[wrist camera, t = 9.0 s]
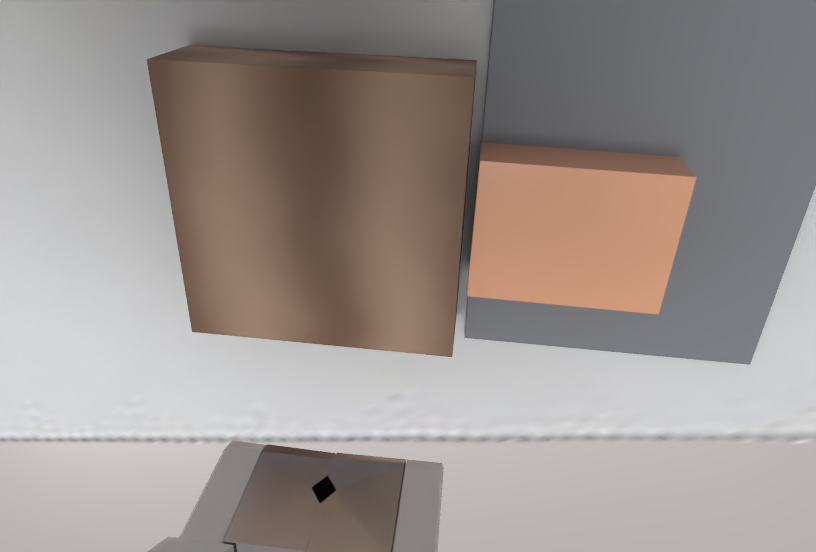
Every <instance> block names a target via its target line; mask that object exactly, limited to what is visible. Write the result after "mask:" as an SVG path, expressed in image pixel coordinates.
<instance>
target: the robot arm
mask: <svg viewBox="0 0 816 552" xmlns="http://www.w3.org/2000/svg"><path fill="white" fill-rule="evenodd" d="M442 483H443V464H442V463H434V462H425V461H415V460H407V462H406V460H405V459H394V458H383V457H374V456H364V455H353V454H342V453H337V454H335V453H328V452H321V451H313V450H306V449H298V448H291V447H283V446H276V445H263V444H256V443H248V442H241V441H232V442H231V443H230V444H229V445H228V446H227V447H226V448H225V449H224V451H223V453H222V455H221V457H220V459H219V460H218V462H217V464H216V467H215V468H214V470H213V472H212V474H211V476H210V478H209V480H208V482H207V484H206V486H205V488H204V490H203V492H202V494H201V496H200V498H199V500H198V502H197V504H196V505H195V507H194V509H193V512H192V513H191V515H190V517H189V519H188V521H187V523H186V525H185V527H184V529H183V531H182V533H181V535H180V537H179V538H173V537H167V538H166V539H164V540H163V541H162V542H160V543H159V544H157V545H156V546H154V547H153V548H152V549H150V550H149V551H147V552H437V549H438V535H439V523H440V522H439V521H440V509H441V495H442Z"/></svg>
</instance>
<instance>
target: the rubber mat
mask: <svg viewBox="0 0 816 552" xmlns="http://www.w3.org/2000/svg"><path fill="white" fill-rule="evenodd" d="M482 142H483V143H496V144H510V145H524V146H537V147H551V148H565V149H578V150H592V151H606V152H619V153H633V154H647V155H660V156H674V157H680V159H681V160H682V161H683V162H684V163H685V164H686V165H687V167H688V168H689V169H690V170H691V171H692V172H693V174H694V175H695V176H696V177H697V178H696V182H695V185H694V189H693V193H692V196H691V200H690V203H689V207H688V211H687V214H686V218H685V221H684V225H683V229H682V232H681V236H680V239H679V243H678V247H677V250H676V254H675V257H674V261H673V265H672V268H671V272H670V275H669V279H668V283H667V286H666V290H665V293H664V297H663V301H662V304H661V308H660V312H659V314H648V313H638V312H627V311H617V310H607V309H596V308H586V307H575V306H565V305H554V304H544V303H533V302H523V301H512V300H502V299H492V298H481V297H471V296H468V305H467V316H466V327H465V338H474V339H484V340H495V341H506V342H516V343H527V344H538V345H548V346H559V347H569V348H580V349H591V350H601V351H612V352H623V353H633V354H644V355H654V356H665V357H676V358H686V359H697V360H707V361H718V362H729V363H739V364H750V363H751V360H752V357H753V355H754V352H755V349H756V347H757V344H758V341H759V338H760V336H761V333H762V330H763V327H764V325H765V322H766V319H767V317H768V314H769V311H770V308H771V306H772V303H773V300H774V298H775V295H776V292H777V289H778V287H779V284H780V281H781V278H782V276H783V273H784V270H785V268H786V265H787V262H788V259H789V257H790V254H791V251H792V248H793V246H794V243H795V240H796V238H797V235H798V232H799V229H800V227H801V224H802V221H803V219H804V216H805V213H806V210H807V208H808V205H809V202H810V199H811V197H812V194H813V191H814V189H815V186H816V0H495V2H494V13H493V24H492V35H491V47H490V58H489V69H488V80H487V92H486V103H485V114H484V125H483V136H482Z"/></svg>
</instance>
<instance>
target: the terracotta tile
mask: <svg viewBox="0 0 816 552" xmlns="http://www.w3.org/2000/svg"><path fill="white" fill-rule="evenodd" d="M696 178H697V177H696V176H695V175H694V174H693V172H692V171H691V170H690V169H689V168H688V167H687V165H686V164H685V163H684V162H683V161H682V160H681V159H680V157H674V156H660V155H647V154H633V153H619V152H606V151H592V150H578V149H565V148H551V147H537V146H524V145H510V144H496V143H483V142H481V151H480V161H479V172H478V182H477V192H476V202H475V212H474V223H473V233H472V243H471V253H470V263H469V275H468V288H467V296H471V297H481V298H492V299H502V300H512V301H523V302H533V303H544V304H554V305H565V306H575V307H586V308H596V309H607V310H617V311H627V312H638V313H648V314H659V312H660V308H661V304H662V301H663V297H664V293H665V290H666V286H667V283H668V279H669V275H670V272H671V268H672V265H673V261H674V257H675V254H676V250H677V247H678V243H679V239H680V236H681V232H682V229H683V225H684V221H685V218H686V214H687V211H688V207H689V203H690V200H691V196H692V193H693V189H694V185H695V182H696Z"/></svg>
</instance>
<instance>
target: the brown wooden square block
mask: <svg viewBox="0 0 816 552" xmlns="http://www.w3.org/2000/svg"><path fill="white" fill-rule="evenodd" d="M476 62H477V61H474V60H455V59H436V58H416V57H397V56H378V55H358V54H339V53H320V52H300V51H281V50H262V49H242V48H223V47H204V46H186V47H183V48H180V49H177V50H174V51H171V52H168V53H165V54H162V55H159V56H156V57H153V58H150V59H147V63H148V69H149V75H150V81H151V87H152V93H153V99H154V105H155V111H156V117H157V123H158V129H159V135H160V141H161V147H162V153H163V159H164V165H165V171H166V177H167V183H168V189H169V195H170V201H171V207H172V213H173V219H174V225H175V231H176V237H177V243H178V249H179V255H180V261H181V267H182V273H183V279H184V285H185V291H186V297H187V304H188V310H189V316H190V322H191V328H192V332H200V333H210V334H221V335H231V336H241V337H251V338H262V339H272V340H282V341H293V342H303V343H313V344H323V345H334V346H344V347H354V348H365V349H375V350H385V351H395V352H406V353H416V354H426V355H437V356H447V357H452V353H453V343H454V333H455V323H456V313H457V300H458V288H459V275H460V263H461V250H462V238H463V225H464V212H465V200H466V187H467V175H468V162H469V150H470V137H471V125H472V112H473V100H474V87H475V75H476Z"/></svg>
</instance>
